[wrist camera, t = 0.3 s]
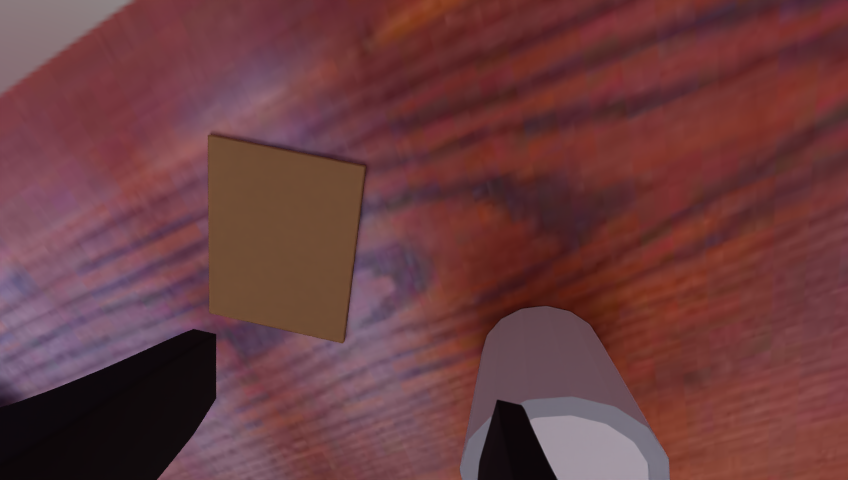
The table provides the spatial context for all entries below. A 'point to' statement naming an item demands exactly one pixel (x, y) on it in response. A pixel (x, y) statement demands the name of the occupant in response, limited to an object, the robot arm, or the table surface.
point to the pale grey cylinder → (563, 399)
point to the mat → (282, 236)
